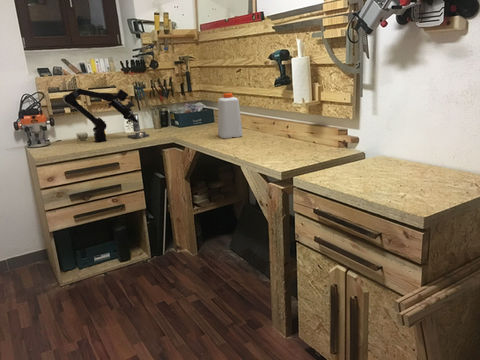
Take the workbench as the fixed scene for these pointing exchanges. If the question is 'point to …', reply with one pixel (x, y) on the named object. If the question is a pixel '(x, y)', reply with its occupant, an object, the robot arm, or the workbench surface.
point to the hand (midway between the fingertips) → (137, 121)
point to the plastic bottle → (229, 117)
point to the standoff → (136, 123)
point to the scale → (138, 135)
